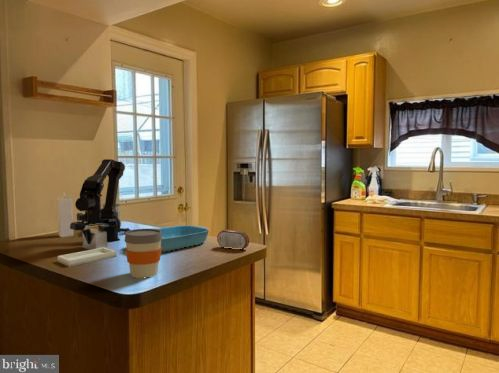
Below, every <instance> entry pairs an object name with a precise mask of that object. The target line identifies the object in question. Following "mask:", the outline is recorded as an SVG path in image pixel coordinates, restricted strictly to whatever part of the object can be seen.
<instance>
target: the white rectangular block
mask: <svg viewBox="0 0 499 373" xmlns="http://www.w3.org/2000/svg"><path fill="white" fill-rule="evenodd" d="M89 229H90V244H88V243H87V241H86V239H85V236H84V234H83V233H82V235H81V236H82V248H83V249H86V250H92V249H98V248H103V247H105V248H108V242H107V232H105V231H101V230H99V228H98V229H97V228H89Z"/></svg>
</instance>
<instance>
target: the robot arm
mask: <svg viewBox="0 0 499 373" xmlns="http://www.w3.org/2000/svg"><path fill="white" fill-rule="evenodd" d="M125 169H126V166H125V163H123V161H117V160H114V159H112V158H111V159H110V158H108V159H107V158H106V159H102V160H101V164H100V165H99V167H98V168H97V169H96V170H95V172H94V173H93V174H92V175H91V176H87V178H85V179H84V180H83V181H84V182H82V185H81V188H80V189H81V190H80V192H79V197H78V198H77V199H76V201H75V204H74V205H75V208H76V209H77V210H78V211H79V212H77V213H76V220H77V221H73V222H72V223H71V224H70V229H73V231H81V232H82V233H83V234H84V236H85V239H86V241H87V243H88V244H90V229H91V228H89V227H93V226H97V227H98V230H101V231H105V232H107V243H110V242H115V241H120V239H121V238H119V232H118V228H121V226H122V222H121V219H120V220H119V218H118V213H117V211H116V209H115V205H116V204H117V198H118V197H117V196H118V191H119V190H118V189H119V183H120V181H119V180H120V179H121V178H122V177H123V176H124V171H125ZM106 178H108V179H107V189H106V195H105V201H104V204H105V207H104V208H103V207H101V206H102V203H101V197H102V196H103V195H102V191H103V189H104V186H105V184H104V181H105V180H106ZM82 212H84V213H82Z"/></svg>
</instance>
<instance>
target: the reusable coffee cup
mask: <svg viewBox="0 0 499 373" xmlns="http://www.w3.org/2000/svg"><path fill="white" fill-rule="evenodd" d="M161 240H162V233H161V230H158V228H137V229H130V231H127V232H126V233H125V232H124V242H125V245H126V248H125V254H126V260H127V261H126V262H127V263H128V264H129V265H128V266H129V272H130V276H133V277H137V278H136V279H139V278H143V279H145V278H144V277H150V276H154V275H156V274H157V275H158V270H159V263H160V261H161V256H162V252H161V248H162V247H161ZM157 275H156V276H157ZM133 277H132V278H133ZM154 277H155V276H154ZM150 278H151V277H150Z"/></svg>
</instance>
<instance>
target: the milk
mask: <svg viewBox="0 0 499 373" xmlns="http://www.w3.org/2000/svg"><path fill="white" fill-rule="evenodd" d="M56 204H57V205H56V206H57V233H58V234H57V235H58V236H59V238H69V237H74V230H73V229H70V224H71V223H72V222H74V217H73V216H74V215H73V214H74V210H73V209H74V208H73V198H70V197H69V196H67V193H66V192H63V193H62V195H61V196H59V197H57V199H56Z"/></svg>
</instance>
